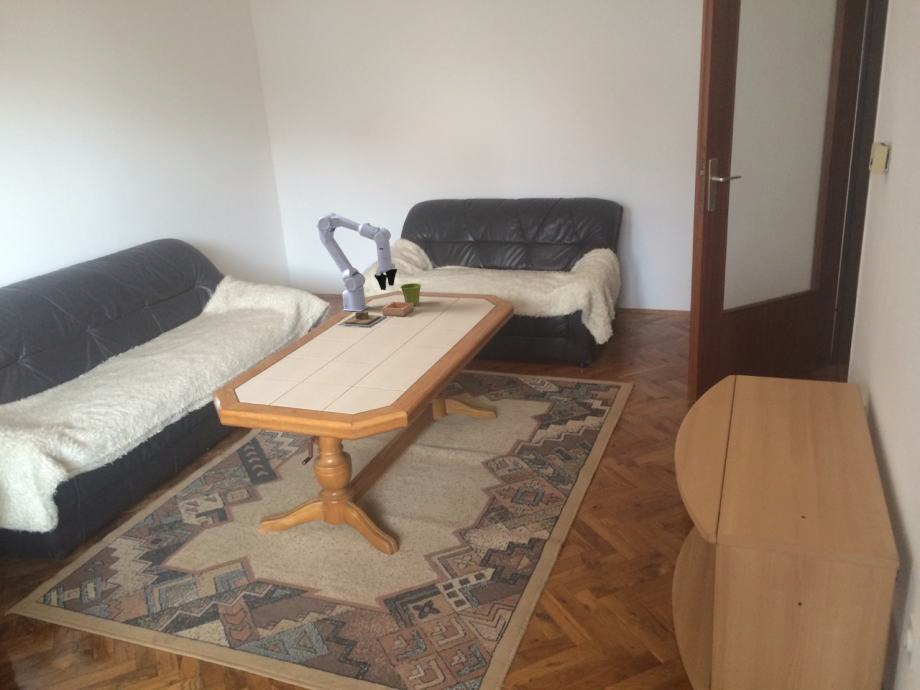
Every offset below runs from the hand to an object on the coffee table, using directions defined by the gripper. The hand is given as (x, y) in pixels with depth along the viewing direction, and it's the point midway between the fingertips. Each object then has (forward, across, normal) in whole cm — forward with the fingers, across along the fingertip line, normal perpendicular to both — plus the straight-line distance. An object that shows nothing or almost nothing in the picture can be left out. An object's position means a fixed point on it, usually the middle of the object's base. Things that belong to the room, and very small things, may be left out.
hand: (387, 287), depth 330 cm
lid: (+10, -19, +3) cm, 21 cm away
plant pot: (+10, +9, -7) cm, 15 cm away
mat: (+10, -19, +3) cm, 22 cm away
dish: (+10, -5, -7) cm, 13 cm away
